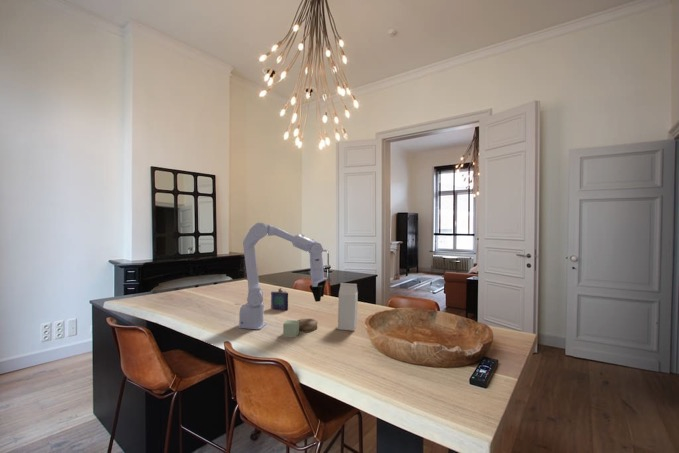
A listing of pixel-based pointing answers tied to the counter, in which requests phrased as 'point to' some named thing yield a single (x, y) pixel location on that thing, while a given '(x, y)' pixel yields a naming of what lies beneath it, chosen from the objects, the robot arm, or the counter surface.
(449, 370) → the counter surface
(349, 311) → the milk carton
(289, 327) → the cube
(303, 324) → the base
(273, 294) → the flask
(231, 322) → the counter surface
